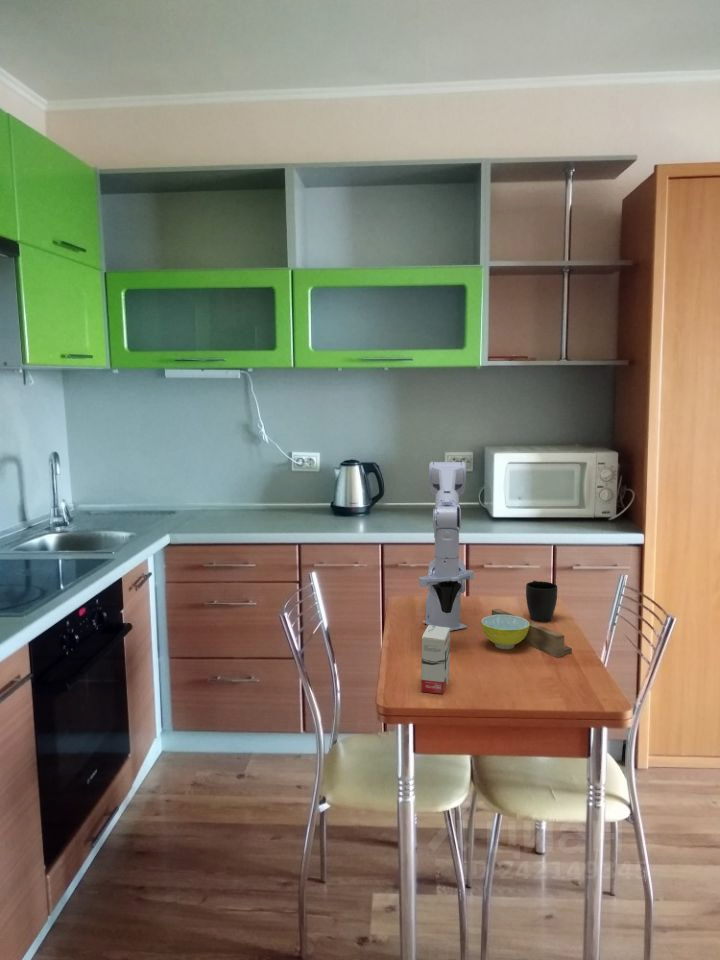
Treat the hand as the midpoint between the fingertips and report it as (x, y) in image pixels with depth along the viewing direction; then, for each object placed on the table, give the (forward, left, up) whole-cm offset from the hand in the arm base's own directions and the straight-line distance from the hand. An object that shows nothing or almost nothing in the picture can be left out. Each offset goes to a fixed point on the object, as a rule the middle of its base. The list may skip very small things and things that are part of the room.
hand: (446, 611), depth 166 cm
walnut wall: (+5, +22, -9) cm, 24 cm away
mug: (-8, +37, -10) cm, 39 cm away
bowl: (+5, +14, -10) cm, 18 cm away
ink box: (+16, -14, -10) cm, 23 cm away
